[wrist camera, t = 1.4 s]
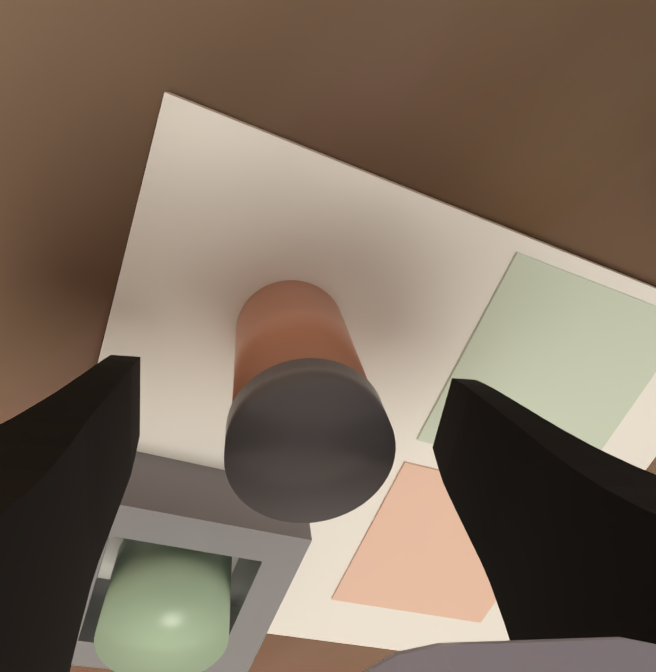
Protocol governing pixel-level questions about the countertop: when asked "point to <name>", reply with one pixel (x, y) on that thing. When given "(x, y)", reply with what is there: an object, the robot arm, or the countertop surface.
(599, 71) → the countertop surface
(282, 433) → the cylinder
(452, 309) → the white sorting board
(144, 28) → the countertop surface
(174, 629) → the button
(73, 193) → the countertop surface
